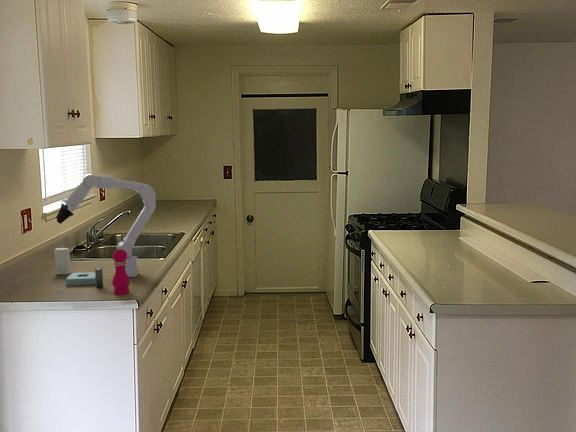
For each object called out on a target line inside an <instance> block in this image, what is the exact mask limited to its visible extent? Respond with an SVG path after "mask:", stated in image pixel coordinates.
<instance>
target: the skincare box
mask: <svg viewBox="0 0 576 432" xmlns="http://www.w3.org/2000/svg"><path fill="white" fill-rule="evenodd" d="M53 253H54V262H55V263H54V264H55V272H56V275H71V274H72V268H71V255H70V254H71V253H70V248H69V247H56V248H55V249H54V250H53Z"/></svg>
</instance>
